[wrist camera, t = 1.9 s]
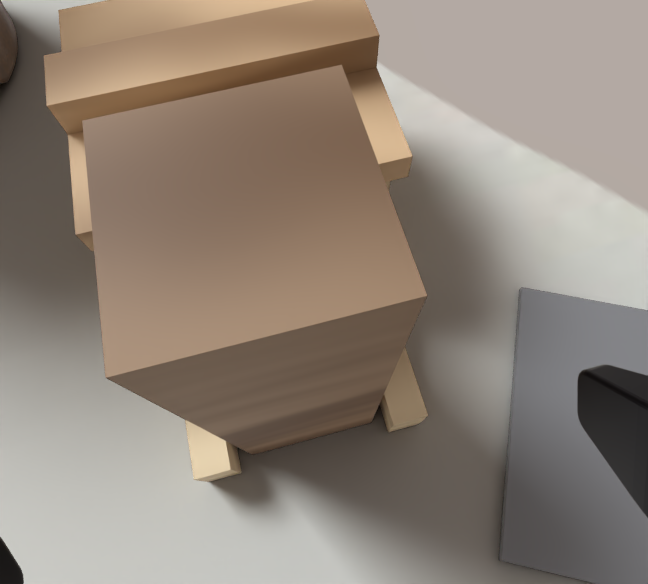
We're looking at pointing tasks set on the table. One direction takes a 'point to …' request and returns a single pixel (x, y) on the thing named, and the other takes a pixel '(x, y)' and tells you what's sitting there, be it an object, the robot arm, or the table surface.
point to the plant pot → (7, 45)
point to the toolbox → (211, 76)
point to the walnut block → (250, 259)
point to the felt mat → (569, 444)
